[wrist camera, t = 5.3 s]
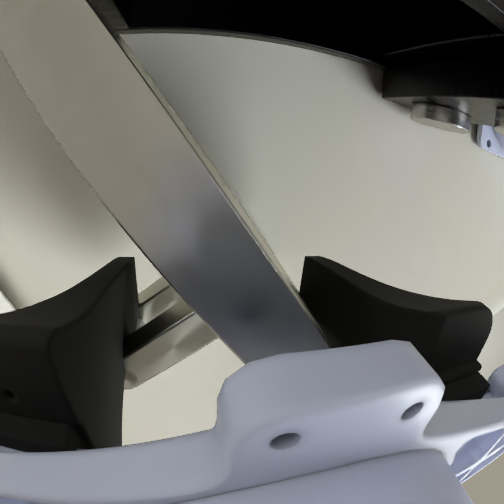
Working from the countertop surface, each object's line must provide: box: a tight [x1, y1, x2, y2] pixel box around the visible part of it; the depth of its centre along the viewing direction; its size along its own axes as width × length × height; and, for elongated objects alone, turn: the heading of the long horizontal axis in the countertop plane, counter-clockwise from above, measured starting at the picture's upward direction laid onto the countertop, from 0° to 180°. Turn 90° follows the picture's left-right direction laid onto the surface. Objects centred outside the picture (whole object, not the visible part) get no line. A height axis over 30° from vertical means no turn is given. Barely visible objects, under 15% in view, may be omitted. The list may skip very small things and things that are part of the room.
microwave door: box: [0, 0, 334, 389], centre depth 9 cm, size 7×13×10 cm, turn 33°
